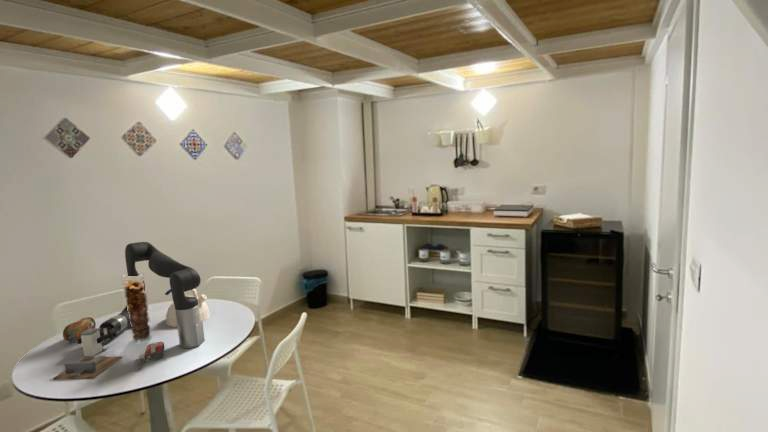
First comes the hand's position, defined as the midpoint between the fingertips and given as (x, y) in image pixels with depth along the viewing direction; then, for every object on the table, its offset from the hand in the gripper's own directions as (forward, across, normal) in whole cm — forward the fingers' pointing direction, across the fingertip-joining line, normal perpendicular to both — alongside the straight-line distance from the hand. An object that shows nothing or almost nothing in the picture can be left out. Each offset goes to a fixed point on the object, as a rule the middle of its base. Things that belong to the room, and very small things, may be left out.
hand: (88, 341), depth 178 cm
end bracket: (+15, +8, +6) cm, 18 cm away
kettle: (-37, +24, +6) cm, 44 cm away
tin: (-18, -18, +6) cm, 26 cm away
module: (-2, 0, +6) cm, 6 cm away
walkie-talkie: (+4, +29, +7) cm, 30 cm away
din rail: (+11, +8, +6) cm, 15 cm away
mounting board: (+11, +8, +6) cm, 15 cm away
